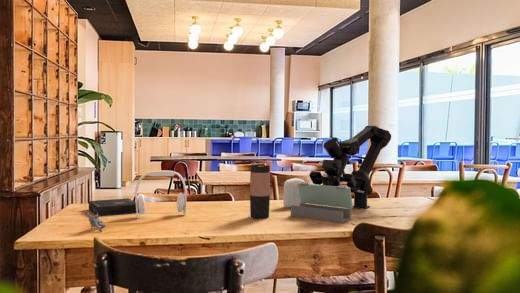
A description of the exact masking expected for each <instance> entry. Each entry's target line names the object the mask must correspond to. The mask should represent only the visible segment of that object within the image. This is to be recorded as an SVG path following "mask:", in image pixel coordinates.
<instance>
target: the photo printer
mask: <svg viewBox="0 0 520 293" xmlns="http://www.w3.org/2000/svg"><path fill="white" fill-rule="evenodd" d="M301 182H304V183H306V181H305V180H304V179H301V178H295V177H294V178H289V179H287V180H285V181H284V183H283V207H284V208H291V206H292V205H294V206H300V203H301V200H300V194H299V188H298V183H301Z"/></svg>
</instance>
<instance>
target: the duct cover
mask: <svg viewBox="0 0 520 293" xmlns="http://www.w3.org/2000/svg"><path fill="white" fill-rule="evenodd" d="M298 188H299V194H300V200H301V203H305V204H313V205H322V206H330V207H338V208H347V209H351V210H352V209H353V205H354V204H353V199H352V193H351V190H350V188H349V187H347V186H345V185H341V186H328V185H324V184H321V185H317V184H313V183H309V182H305V183H304V182H301V183H298Z"/></svg>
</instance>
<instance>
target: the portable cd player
mask: <svg viewBox="0 0 520 293" xmlns="http://www.w3.org/2000/svg"><path fill="white" fill-rule="evenodd" d="M88 211H89V212H91V213H92V214H94V215H97V213H98V216H100V217H105V216H106V217H107V216H117V215H118V216H119V215H128V214H136V200H133V199H131V198H128V197H127V198H116V199H115V198H114V199H113V198H112V199H101V200H88ZM138 214H140V213H139V209H138Z"/></svg>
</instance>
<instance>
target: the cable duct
mask: <svg viewBox="0 0 520 293" xmlns="http://www.w3.org/2000/svg"><path fill="white" fill-rule="evenodd" d="M290 216H291V217H296V218H303V219H304V218H305V219H311V220H318V221H325V222H326V221H327V222H331V223H332V222H334V223H339V224H340V223H341V224H343V223H345V222H349V221H350V220H352V209H350V208H341V207H333V206H325V205H316V204H308V203H300V206H294V205H292V206H291V207H290Z"/></svg>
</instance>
